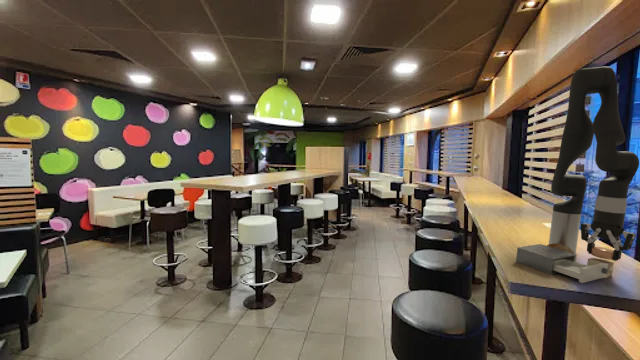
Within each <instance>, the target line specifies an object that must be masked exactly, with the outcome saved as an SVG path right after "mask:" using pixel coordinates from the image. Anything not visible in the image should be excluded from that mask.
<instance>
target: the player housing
mask: <svg viewBox="0 0 640 360" xmlns="http://www.w3.org/2000/svg"><path fill="white" fill-rule="evenodd" d="M515 257H516V258H515V263H519V264H522V265H524V266H526V265H527V267H529V268H532V269H534V270H537V271H540V272H543V273H546V274H547V275H551V274H552V275H555V273H556V274H561V273H560V272H557V271H554V270H553V269H554V262H555V260H556V259H561V258H565V259H568V260H572V261H575V262H577V260H576V259H577V254H573V253H570V252H566V251H563V250H559V249H556V248H552V247H549V246H547V245H546V244H545V245H544V244H542V243H538V244H532V245H531V244H530V245H524V246H518V247H517V250H516V256H515Z"/></svg>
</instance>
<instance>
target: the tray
mask: <svg viewBox="0 0 640 360" xmlns="http://www.w3.org/2000/svg"><path fill="white" fill-rule="evenodd" d="M607 267H608V263H600V264H595V265H591V266H588V265H587V264H583V263H580V262H579V261H578V262H577V261H572V260H568V259H565V258H561V259H556V260H555V262H554V269H553V270H554V271H557V272H560V273H559V274H563V275H565V276H566V275H567V276H569V277H571V278H574V279H578V283H580V284H584V283H588V282H591V281H595V280H600V279H604V278H603V277H606V274H608V272H609V270H608V269H607Z"/></svg>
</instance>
